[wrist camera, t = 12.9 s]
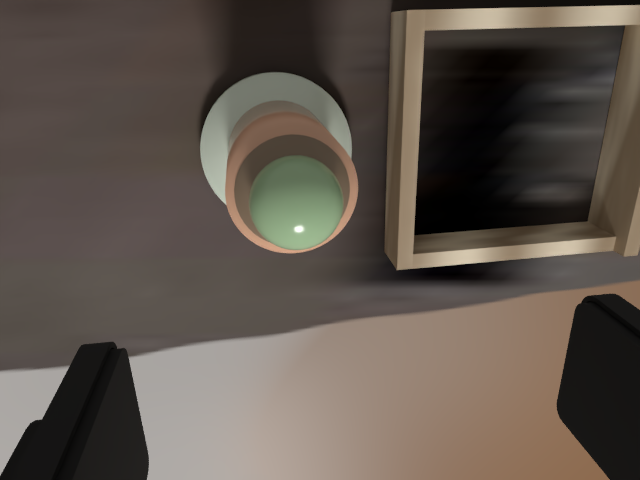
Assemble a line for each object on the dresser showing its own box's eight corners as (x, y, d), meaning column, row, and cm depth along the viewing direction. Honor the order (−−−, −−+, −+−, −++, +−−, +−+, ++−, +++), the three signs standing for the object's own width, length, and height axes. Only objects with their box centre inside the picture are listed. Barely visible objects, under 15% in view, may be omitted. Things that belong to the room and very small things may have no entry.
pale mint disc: (348, 68, 30) (351, 70, 29) (348, 212, 33) (351, 217, 32) (192, 74, 28) (191, 75, 28) (210, 223, 32) (209, 228, 31)
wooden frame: (643, 6, 31) (698, 3, 27) (597, 233, 37) (637, 255, 33) (390, 12, 29) (413, 9, 25) (384, 251, 35) (401, 277, 31)
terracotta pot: (328, 98, 29) (380, 138, 19) (329, 197, 31) (375, 282, 21) (223, 101, 28) (215, 145, 18) (232, 202, 31) (229, 294, 20)
